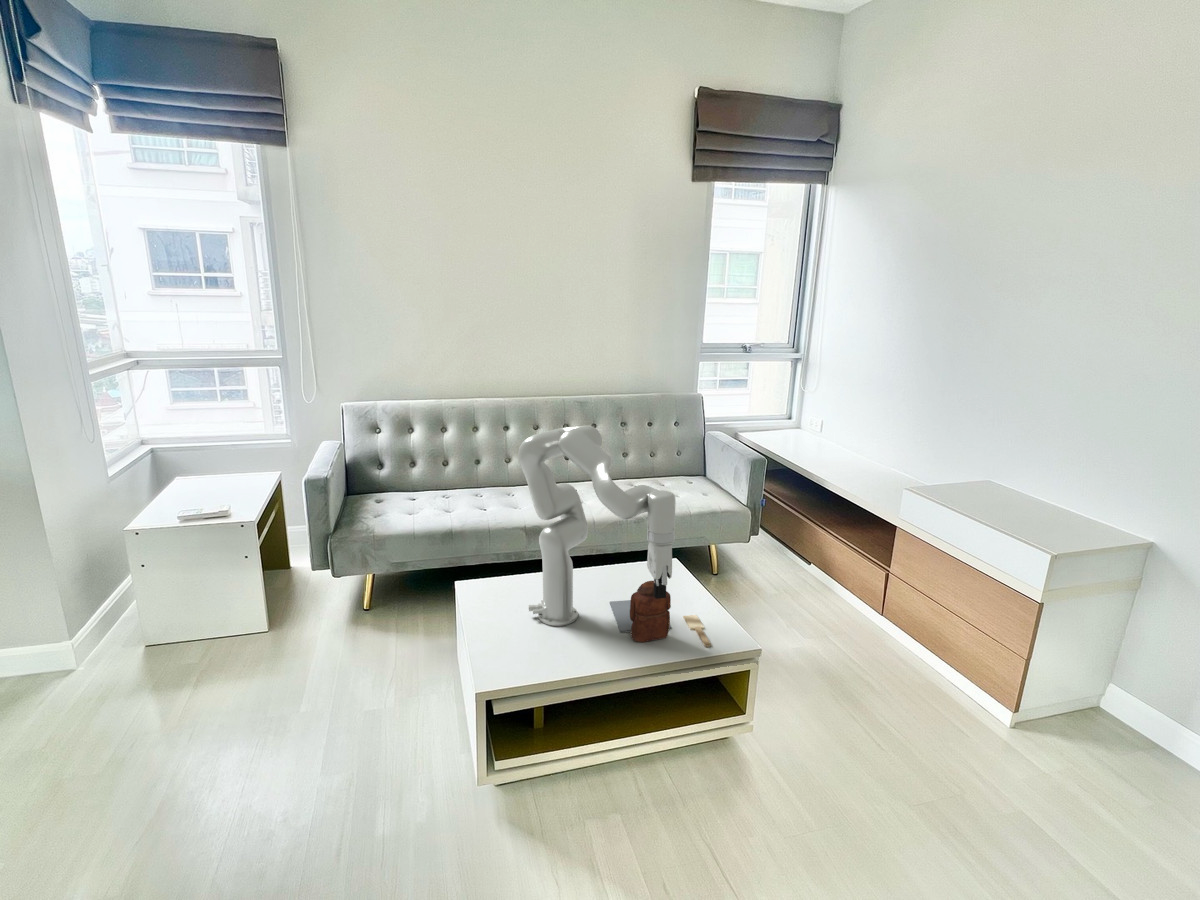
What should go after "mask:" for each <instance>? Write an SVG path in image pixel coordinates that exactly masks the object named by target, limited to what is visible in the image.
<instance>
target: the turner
mask: <svg viewBox="0 0 1200 900" xmlns="http://www.w3.org/2000/svg"><path fill="white" fill-rule="evenodd" d="M682 617H683V620H684V621H685V623H686V625H687V626H688V628H689V630H690V631H695V632H696V634H697V636H698V637H699V639H700V641H701V643H702V644H703V646H704V647H705V648H710V646H711V645H712V643H711V642H710V640H709V638H708V637H707V635H706V634H705V632H704V631H703V630H705V626H704V624H703V623H702V622H701V620H700V619H699V617H698V616H697V614H693V615H692V614H690V615H689V614H688V615H683V616H682ZM711 647H712V646H711Z"/></svg>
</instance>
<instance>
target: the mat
mask: <svg viewBox="0 0 1200 900" xmlns="http://www.w3.org/2000/svg"><path fill="white" fill-rule="evenodd" d="M630 602H631V599H628V600H614V601H613V600H612V601H609V605H610V608H611V611H612V614H613V616H614V619H615V623H616V624H617V627H618V630H619V633H631V627H632V623H633V621H631V619H630ZM669 630H672V625H670V626H669Z"/></svg>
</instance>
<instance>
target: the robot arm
mask: <svg viewBox="0 0 1200 900" xmlns="http://www.w3.org/2000/svg"><path fill="white" fill-rule="evenodd" d="M602 443H603V438H602V434H601V433H600V431H599V430H598V429H597V428H596V427H594V426H593V425H588V424H586V425H579V426H568V427H567V426H566V427H561V428H555V429H551V430H547V431H543V432H540V433H535V434H533V435H531V436H529V437H527V438H525V439H524V440H523V441H522V443H521V444H520V446H519V448H518V451H517V452H518V456H517V458H518V463H519V465H520V466H519V467H520V468H521V470H522V473H523V475H524V478H525V479H526V483H527V487H528V491H529V494H530V497H531V501H532V504H533V507H534V511H535V513H536V515H537V517H538V518H539V519H540V520H542V521H549V520H553V519H556V518H558V517H560V519H559V520H557V521H553V522H552V523H551V524H550V523H549V524H548V525H547V526H545V527H544V528H543V529H542V531H541V532H540V534H539V536H538V542H539V547H540V553H541V559H542V564H541V565H542V600H541V603H538V604H529V605H528V612H532V615H537V617H538V620H539V621H540V622H541V623H543V624H546V625H548V626H554V627H556V626H557V627H561V626H562V627H563V626H567V625H569V624H571V623H574V622H575V621H576V620H577V618H578V614H579V613H578V610H577V608H575V607H573V606H574V603H573V602H574V601H573V600H574V594H573V593H574V591H573V590H574V586H573V585H574V566H573V565H574V564H573V560H572V558H571V557H570V554H569V551H570V550H571V549H572V548H574V547H576V546H578V545H580V544H582V543H584V542H585V540H586V539H587V537H588V536H589V535H588V534H589V525H588V522H587V518H586V514H585V512H584V508H583V504H582V500H581V497H580V495H579V493H578V491H577V489H576V488H575V486H573V485H571V484H569V483H565V482H563V483H562V482H561V483H558V484H557V482H556V479H555V475H554V473H553V471H552V469H551V467H549V465H548V464H547V463H545V462H547V461H548V460H550V459H554V458H558V457H562V456H565V457H566V458H567V459H569V460H570V461H571V462H572V463H573V464H574V465H575V466H576V467H577V468H578V469H580V470H581V471H582V472H583V473H584V474H585V475H586V476H587V477H589V478H590V480H591V482H592V487H593V489H594V492H595V495H596V497H597V498H598V500H599V502H600V503H602V505H603V506H604V507H605V508H606V509H608V511H610V512H611V513H612V514H613V515H615V516H616V517H618V518H620V519H622V520H631V519H634V518H636V517H637V516H640V515H642V514H645V513H647V520H646V521H647V530H646V531H647V533H646V535H647V537H646V539H647V540H646V541H647V543H648V545H647V546H648V547H647V559H646V563H647V564H646V566H647V567H646V568H647V569H648V572H649V573H650V574H651V576H652V578H653V581H654V597H655V598H656V599H659V598H666V591H667V585H668V579H671V578H672V575H673V546H672V545H673V544H674V543H675V540H676V536H675V535H676V532H675V531H676V495H675V494H674V493H673V492H671V491H669V490H661V489H660V490H659V489H656V488H654V487H652V486H649V485H646V484H638V485H636V486H634V487H631V488H629V489H626V490H623V489H622V488H621V487H620V486H618V485H617V484H616V483H615V482H614V481H613V479H612V478H611V476H610V473H609V471H610V470H611V469H612V465H613V458H612V456H611V455H609V454H608V453H607V452H606V451H605V450H604V449H602V448H601V446H602Z"/></svg>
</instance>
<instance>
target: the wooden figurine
mask: <svg viewBox="0 0 1200 900" xmlns="http://www.w3.org/2000/svg"><path fill="white" fill-rule="evenodd" d="M630 600H631V602H630V619H631V621H633V623H632V627H631V632H630V638H631V639H632V640H633V641H634V642H637V643H647V642H651V641H657V640H662V639H666V638H667V637H668V635H669V631H670V629H669V626H671V617H670V616H671V615H670V609H671V608H672V604H671V602H672V601H671V600H672V599H671V594H670V592H668V591H667V590H666V598H659V599H656V598H655V597H654V580H648V581H645V582H643V583H642V584H640V586H638V588H637V589H636V592H633V593H632V594H631V597H630Z"/></svg>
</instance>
